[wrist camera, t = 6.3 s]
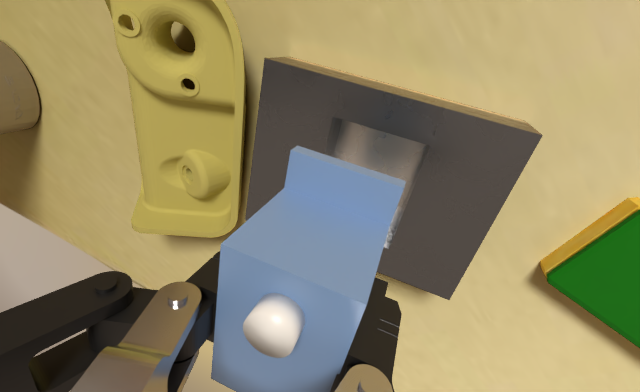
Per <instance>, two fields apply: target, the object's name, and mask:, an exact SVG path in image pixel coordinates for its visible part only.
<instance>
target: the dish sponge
mask: <svg viewBox="0 0 640 392" xmlns="http://www.w3.org/2000/svg"><path fill="white" fill-rule="evenodd" d="M540 267H541V269H542V271H543V273H544V275H545V277H546V278H547V281H548V283H549V284H551V285H552V286H553V287H555V288H556V289H558V290H559V291H560V292H562V293H563V294H565V295H566V296H567V297H569V298H570V299H572V300H573V301H574V302H576V303H577V304H579V305H580V306H581V307H583V308H584V309H586V310H587V311H588V312H590V313H591V314H593V315H594V316H595V317H597V318H598V319H600V320H601V321H602V322H604V323H605V324H607V325H608V326H609V327H611V328H612V329H614V330H615V331H616V332H618V333H619V334H621V335H622V336H623V337H625V338H626V339H628V340H629V341H630V342H632V343H633V344H635V345H636V346H637V347H639V348H640V198H638V197H636V198H627V199H626V200H624V201H623V202H622V203H620V204H619V205H617V206H616V207H615V208H613V209H612V210H611V211H609V212H608V213H606V214H605V215H604V216H602V217H601V218H599V219H598V220H597V221H595V222H594V223H592V224H591V225H590V226H588V227H587V228H585V229H584V230H583V231H581V232H580V233H579V234H577V235H576V236H574V237H573V238H572V239H570V240H569V241H567V242H566V243H565V244H563V245H562V246H560V247H559V248H558V249H556V250H555V251H554V252H552V253H551V254H549V255H548V256H547V257H545V258H544V259H542V260H541V261H540Z"/></svg>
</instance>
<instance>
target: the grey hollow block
mask: <svg viewBox="0 0 640 392" xmlns="http://www.w3.org/2000/svg"><path fill="white" fill-rule="evenodd" d="M541 137H542V134H540V133H539V132H538V131H537V130H536V129H534V128H533V127H532V126H531V125H529V124H528V123H527V122H526V121H524V120H521V119H517V118H513V117H510V116H506V115H502V114H499V113H495V112H491V111H488V110H484V109H480V108H477V107H473V106H469V105H466V104H462V103H458V102H455V101H451V100H447V99H444V98H440V97H436V96H433V95H429V94H425V93H422V92H418V91H414V90H411V89H407V88H403V87H400V86H396V85H392V84H389V83H385V82H381V81H377V80H374V79H370V78H366V77H363V76H359V75H355V74H352V73H348V72H344V71H341V70H337V69H333V68H330V67H326V66H322V65H319V64H315V63H311V62H308V61H304V60H300V59H297V58H293V57H278V58H265V60H264V68H263V77H262V85H261V93H260V101H259V110H258V118H257V126H256V135H255V143H254V151H253V159H252V168H251V176H250V184H249V193H248V201H247V209H246V217H245V220H246V221H247V220H249V219H250V218H251V217H252V216H253V215H254V214H255V213H256V212H258V211H259V210H260V209H261V208H262V207H263V206H264V205H265V204H267V203H268V202H269V201H270V200H271V199H272V198H273V197H275V196H276V195H277V194H278V193H279V192H280V191H281V190H282V189H284V186H285V180H286V175H287V169H288V163H289V157H290V152H291V150H292V149H293V148H295V147H296V146H300V147H304V148H307V149H310V150H313V151H316V152H319V153H322V154H325V155H328V156H331V157H334V158H337V159H340V160H343V161H346V162H349V163H352V164H355V165H358V166H361V167H364V168H367V169H370V170H374V171H377V172H380V173H383V174H386V175H389V176H392V177H395V178H398V179H401V180H404V181H406V183H405V187H404V190H403V192H402V195H401V198H400V200H399V203H398V206H397V208H396V211H395V214H394V216H393V219H392V221H391V224H390V227H389V230H388V234H387V237H386V241H385V244H384V247H383V251H382V254H381V258H380V261H379V265H378V268H377V271H376V272H379V273H381V274H384V275H386V276H389V277H392V278H394V279H397V280H399V281H402V282H404V283H407V284H409V285H412V286H415V287H417V288H420V289H422V290H425V291H427V292H430V293H432V294H435V295H437V296H440V297H443V298H445V299H448V300H450V298H451V296H452V294H453V292H454V291H455V289H456V287H457V285H458V284H459V282H460V280H461V278H462V277H463V275H464V273H465V271H466V270H467V268H468V266H469V264H470V262H471V261H472V259H473V257H474V255H475V254H476V252H477V250H478V248H479V247H480V245H481V243H482V241H483V240H484V238H485V236H486V234H487V232H488V231H489V229H490V227H491V225H492V224H493V222H494V220H495V218H496V217H497V215H498V213H499V211H500V210H501V208H502V206H503V204H504V203H505V201H506V199H507V197H508V195H509V194H510V192H511V190H512V188H513V187H514V185H515V183H516V181H517V180H518V178H519V176H520V174H521V173H522V171H523V169H524V167H525V165H526V164H527V162H528V160H529V158H530V157H531V155H532V153H533V151H534V150H535V148H536V146H537V144H538V143H539V141H540V139H541Z"/></svg>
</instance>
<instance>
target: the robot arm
mask: <svg viewBox="0 0 640 392" xmlns="http://www.w3.org/2000/svg"><path fill="white" fill-rule="evenodd" d="M39 110H40V105H39V97H38V94H37V90H36V87H35V84H34V82H33V80H32V77H31V75H30V74H29V72H28V70H27V68H26V66H25V65H24V64H23V62H22V61H21V59H20V58H19V57H18V56H17V55H16V54H15V52H14V51H13V50H12V49H11V48H9V47H8V46H7V45H6V44H5V43H3V42H1V41H0V134H4V133H9V132H14V131H19V130H24V129H29V128H31V127H33V126H34V125H35V124H36V122H37V121H38V117H39ZM219 264H220V252H218V253H216V254H215V255H214V256H213V258H211V259H210V260H209V261H208V262H207V263H205V264H204V265H203V266H202V267H201V268H200V269H199V270H198V271H197V272H195V273H194V274H193V275H192V276H191V277H190V278H189V279H188V280H187V281H185V282H174V283H171V284H168V285H166V286H164V287H162V288H161V289H160V290H150V289H143V288H136V287H133V286H132V280H131V278H130V277H129V276H128V275H127V274H125V273H122V272H117V271H109V272H104V273H100V274H97V275H94V276H92V277H89V278H87V279H84V280H82V281H79V282H77V283H74V284H72V285H69V286H67V287H64V288H62V289H59V290H57V291H54V292H51V293H49V294H47V295H44V296H42V297H39V298H37V299H34V300H31V301H29V302H27V303H24V304H22V305H19V306H16V307H14V308H11V309H9V310H6V311H4V312H1V313H0V392H69V391H70V390H71V391H70V392H182V389H183V387H184V385H185V383H186V381H187V379H188V376H189V374H190V372H191V370H192V368H193V365H194V363H195V361H196V359H197V357H198V354H199V348H200V347H201V346H202V345H203V343H204V342H205V341H206V340H209V341H211V342H213V343H214V332H215V319H216V305H217V291H218V278H219ZM387 285H388V282H385V281H383V280H380V279H378V278H374V282H373V285H372V289H371V292H370V295H369V299H368V302H367V306H366V308H365V311H364V313H363V316H362V318H361V321H360V323H359V326H358V328H357V331H356V333H355V336H354V339H353V341H352V344H351V346H350V349H349V351H348V354H347V356H346V359H345V361H344V364H343V366H342V369H341V372H340V374H337V375H336V377H335V380H334V382H333V385H332V387H331V390H330V392H394V389H393V385H392V373H393V367H394V360H395V353H396V347H397V340H398V333H399V326H400V320H401V311H400V308H399V305H398V302H397V301H395V300H392V299H390V298H387V297H385V294H386V290H387ZM84 329H86V332H84V333H82V334H80V335H78V336H76V337H74V338H72V339H70V340H68V341H66V342H64V343H62V344H60V345H58V346H56V347H54V348H52V349H50V350H48V351H46V352H44V353H42V354H40V355H38V356H36V357H34V356H35V355H36V354H37V353H38V352H40V351H42V350H44V349H45V348H48V347H50V346H52V345H54V344H55V343H58V342H60V341H62V340H64V339H66V338H68V337H69V336H72V335H74V334H76V333H78V332H80V331H82V330H84Z"/></svg>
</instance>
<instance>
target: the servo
mask: <svg viewBox="0 0 640 392" xmlns="http://www.w3.org/2000/svg"><path fill="white" fill-rule="evenodd" d="M405 183H406V181H404V180H401V179H398V178H395V177H392V176H389V175H386V174H383V173H380V172H377V171H374V170H370V169H367V168H364V167H361V166H358V165H355V164H352V163H349V162H346V161H343V160H340V159H337V158H334V157H331V156H328V155H325V154H322V153H319V152H316V151H313V150H310V149H307V148H304V147H300V146H296V147H295V148H293V149H292V150H291V152H290V157H289V163H288V169H287V175H286V180H285V186H284V189H282V190H281V191H280V192H279V193H278V194H277V195H276V196H275V197H273V198H272V199H271V200H270V201H269V202H268V203H267V204H265V205H264V206H263V207H262V208H261V209H260V210H259V211H258V212H256V213H255V214H254V215H253V216H252V217H251V218H250V219H249V220H247V221H246V222H245V223H244V224H243V225H242V226H241V227H239V228H238V229H237V230H236V231H235V232H234V233H233V234H232V235H230V236H229V237H228V238H227V239H226V240H225V241H224V242H222V243H221V250H220V264H219V278H218V291H217V305H216V319H215V332H214V346H213V360H212V373H211V378H212V379H213V380H215V381H217V382H219V383H221V384H223V385H225V386H226V387H228V388H230V389H232V390H234V391H236V392H330V390H331V387H332V385H333V382H334V380H335V377H336V375H337V374H340V372H341V369H342V366H343V364H344V361H345V359H346V356H347V354H348V351H349V349H350V346H351V344H352V341H353V339H354V336H355V333H356V331H357V328H358V326H359V323H360V321H361V318H362V316H363V313H364V311H365V308H366V306H367V302H368V299H369V295H370V292H371V289H372V285H373V282H374V278H375V275H376V271H377V268H378V265H379V261H380V258H381V254H382V251H383V247H384V244H385V241H386V237H387V234H388V230H389V227H390V224H391V221H392V219H393V216H394V214H395V211H396V208H397V206H398V203H399V200H400V198H401V195H402V192H403V190H404V187H405Z"/></svg>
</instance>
